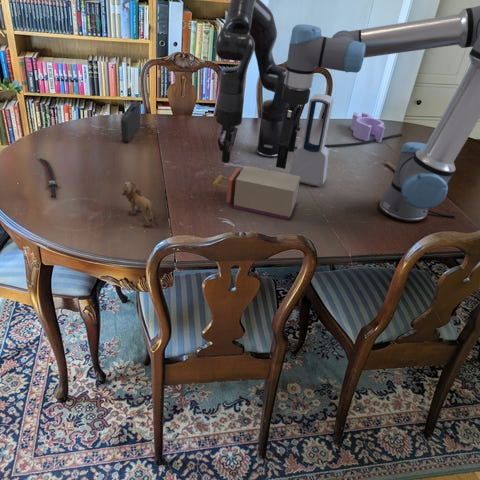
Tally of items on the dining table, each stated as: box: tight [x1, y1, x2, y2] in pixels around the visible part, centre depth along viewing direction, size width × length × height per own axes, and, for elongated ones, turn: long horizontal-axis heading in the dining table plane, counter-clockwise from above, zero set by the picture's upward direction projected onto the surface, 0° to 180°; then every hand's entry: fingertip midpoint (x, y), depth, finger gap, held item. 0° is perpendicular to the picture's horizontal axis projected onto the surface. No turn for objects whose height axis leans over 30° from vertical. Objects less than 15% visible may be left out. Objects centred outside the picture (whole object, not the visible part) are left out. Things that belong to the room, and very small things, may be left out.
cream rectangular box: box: [232, 165, 300, 221], centre depth 146 cm, size 18×11×10 cm, turn 74°
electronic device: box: [288, 93, 335, 188], centre depth 159 cm, size 12×8×30 cm, turn 71°
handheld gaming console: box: [120, 101, 141, 143], centre depth 188 cm, size 23×3×10 cm, turn 178°
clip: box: [349, 112, 386, 143], centre depth 214 cm, size 20×12×7 cm, turn 11°
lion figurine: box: [119, 181, 159, 227], centre depth 134 cm, size 15×5×9 cm, turn 50°
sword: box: [40, 158, 59, 198], centre depth 151 cm, size 31×3×1 cm, turn 26°
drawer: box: [212, 167, 242, 204], centre depth 147 cm, size 22×10×8 cm, turn 74°
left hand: (225, 161), depth 145 cm, fingers closed
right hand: (285, 159), depth 139 cm, fingers open, 13 cm apart
